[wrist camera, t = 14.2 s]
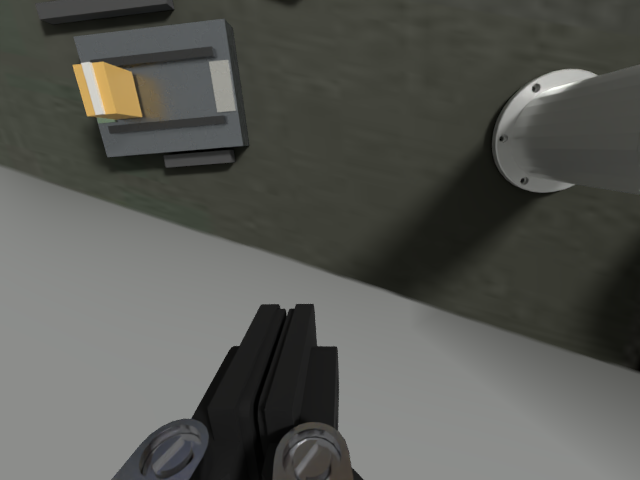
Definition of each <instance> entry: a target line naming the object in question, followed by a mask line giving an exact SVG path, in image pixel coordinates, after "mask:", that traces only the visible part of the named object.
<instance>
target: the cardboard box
mask: <svg viewBox="0 0 640 480" xmlns="http://www.w3.org/2000/svg"><path fill="white" fill-rule="evenodd" d="M73 68H74V72H75V75H76V79H77V82H78V86H79V89H80V92H81V96H82V99H83V103H84V106H85V110H86V113H87V116H90V117H99V118H107V119H116V120H118V119H128V118H139V117H142V113H141V109H140V104H139V100H138V96H137V92H136V88H135V83H134V79H133V75H132V72H131V71H128V70H125V69H122V68H119V67H117V66H114V65H111V64H108V63H106V62H95V63H91V62H84V63H81V64H77V65H73Z"/></svg>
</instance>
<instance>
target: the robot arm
mask: <svg viewBox="0 0 640 480" xmlns="http://www.w3.org/2000/svg"><path fill="white" fill-rule="evenodd" d="M532 88H533V91H532ZM500 137H501V140H499V139H500ZM492 154H493V157H494V161H495V164H496V166H497V168H498V170H499V172H500V173H501V174H502V175H503V177H504V178H505V179H506V180H507V181H509V182H510V183H511V184H513V185H514V186H517V187H519V188H521V189H524V190H528V191H531V192H540V193H547V192H556V191H560V190H564V189H566V188H569V187H571V186H574V185H582V186H589V187H595V188H601V189H607V190H613V191H619V192H625V193H632V194H638V195H640V65H637V66H633V67H629V68H625V69H622V70H618V71H614V72H610V73H607V74H603V75H599V76H598V75H596V74H594V73H592V72H590V71H585V70H581V69H563V70H558V71H553V72H550V73H547V74H544V75H542V76H540V77H538V78H536V79H534V80H532V81H530V82H528V83H527V84H526V85H524V86H523V87H521V88H520V89H519V90H518V91H517V92H516V93H515V94H514V95H513V96H512V97H511V98H510V99H509V101H508V102H507V103H506V105H505V106H504V107H503V109H502V111H501V113H500V115H499V117H498V118H497V121H496V124H495V127H494V130H493V137H492ZM521 179H522V181H521ZM520 181H521V182H520ZM337 352H338V350H337V347H322V346H320V347H318V346H317V340H316V326H315V312H314V305H313V304H296V306H295V309H289V312H288V315H287V316H286V310H285V309H280V306H279V304H271V305H270V304H269V305H266V304H265V305H264V304H263V305H261V306H260V308H259V309H258V311H257V314H256V315H255V317H254V319H253V321H252V323H251V325H250V327H249V329H248V331H247V333H246V335H245V337H244V338H243V340H242V342H241V344H240V346H233V347H232V348H231V349H230V350H229V352H228V354H227V355H226V357H225V359H224V361H223V363H222V364H221V366H220V368H219V370H218V372H217V373H216V375H215V377H214V379H213V381H212V382H211V384H210V386H209V388H208V390H207V391H206V393H205V395H204V397H203V399H202V400H201V402H200V404H199V406H198V408H197V410H196V411H195V413H194V415H193V417H192V419H181V420H176V421H173V422H171V423H168V424H166V425H164V426H162V427H160V428H159V429H158V430H156V431H155V432H153V433H152V434H150V435H149V436H148V437H147V439H146V440H144V441H143V442H142V444H141V445H140V446H139V447H138V448H137V449H136V451H135V452H134V453H133V454H132V455H131V457H130V458H129V459H128V460H127V461H126V463H125V464H124V465H123V466H122V468H121V469H120V470H119V471H118V472H117V474H116V475H115V476H114V477H113V478H112V480H363V479H362V478H361V477H360V475H359V474H358V473H357V472H356V471H354V469H352V467H351V461H350V455H349V450H348V447H347V444H346V441H345V439H344V438H343V437H342V435H341V434H340V433H339V431H338V406H339V405H338V402H339V401H338V400H339V375H338V353H337Z"/></svg>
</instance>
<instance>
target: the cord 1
mask: <svg viewBox="0 0 640 480" xmlns="http://www.w3.org/2000/svg"><path fill="white" fill-rule="evenodd" d="M35 5H36V8H37V11H38V15H39V18H40V20H43V21H45V22H47V23H50V24H60V23H68V22H76V21H84V20H92V19H101V18H109V17H117V16H125V15H133V14H141V13H149V12H158V11H166V10H174V6H173V1H172V0H58V1H51V2H43V3H35Z"/></svg>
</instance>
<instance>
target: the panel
mask: <svg viewBox="0 0 640 480" xmlns="http://www.w3.org/2000/svg"><path fill="white" fill-rule="evenodd" d="M74 40H75V44H76V47H77V51H78V54H79V58H80V61H81V63H84V62H91V63H95V62H106V63H108V64H111V65H114V66H117V67H119V68H122V69H125V70H128V71H131V72H132V75H133V79H134V83H135V88H136V92H137V96H138V100H139V104H140V109H141V113H142V117H139V118H128V119H118V120H116V119H107V118H99V117H96V118H97V122H98V125H99V129H100V133H101V136H102V140H103V143H104V147H105V150H106V154H107V157H121V156H133V155H145V154H157V153H169V152H181V151H193V150H205V149H217V148H228V147H240V146H249V139H248V132H247V125H246V118H245V111H244V104H243V97H242V90H241V83H240V76H239V69H238V62H237V55H236V48H235V41H234V33H233V28H232V27H231V26H230V25H229V24H228V22H227V21H226V20H225V19H218V20H210V21H201V22H193V23H185V24H176V25H168V26H159V27H151V28H143V29H134V30H126V31H117V32H109V33H100V34H92V35H84V36H75V37H74Z"/></svg>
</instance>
